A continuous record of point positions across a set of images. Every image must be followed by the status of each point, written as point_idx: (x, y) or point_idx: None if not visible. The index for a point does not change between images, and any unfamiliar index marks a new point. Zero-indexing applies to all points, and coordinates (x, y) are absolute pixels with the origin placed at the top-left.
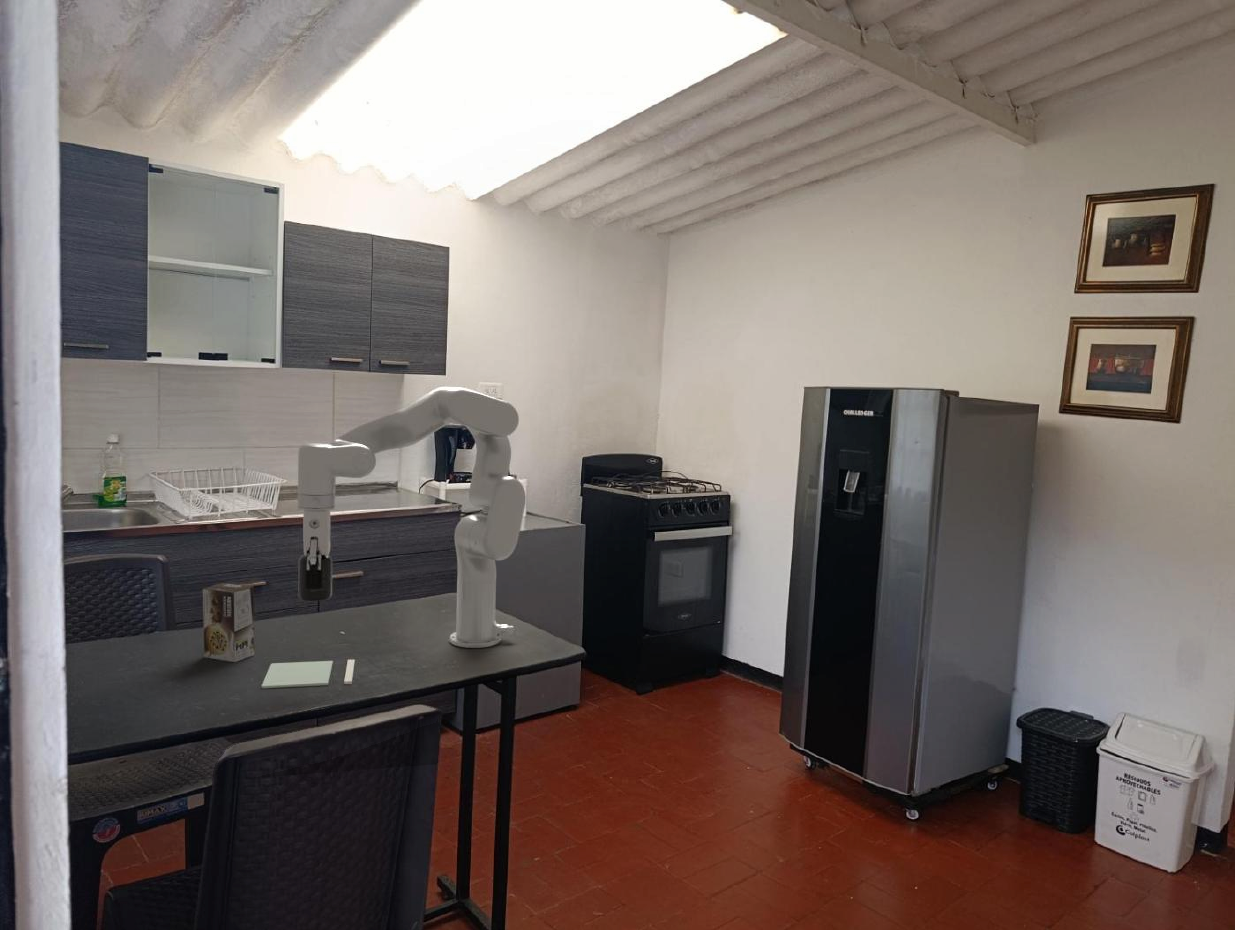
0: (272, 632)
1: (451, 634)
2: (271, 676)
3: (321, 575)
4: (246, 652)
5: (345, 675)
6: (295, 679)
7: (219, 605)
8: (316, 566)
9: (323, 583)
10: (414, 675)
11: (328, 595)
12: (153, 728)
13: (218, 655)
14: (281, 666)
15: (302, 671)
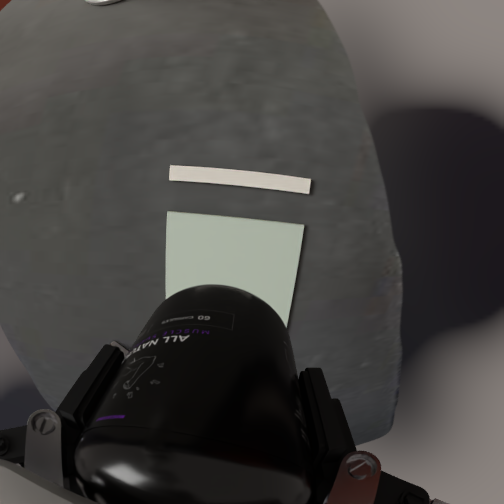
0: (24, 306)
1: (94, 1)
2: None
3: (335, 419)
4: (125, 356)
5: (273, 188)
6: (267, 284)
7: None
8: (397, 481)
9: (295, 371)
10: (288, 57)
11: (264, 306)
12: (370, 410)
13: None
14: None
15: (222, 271)
